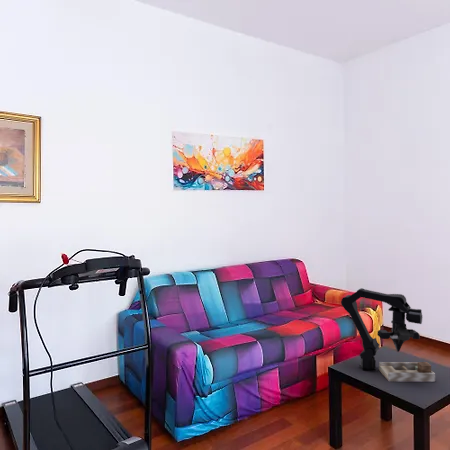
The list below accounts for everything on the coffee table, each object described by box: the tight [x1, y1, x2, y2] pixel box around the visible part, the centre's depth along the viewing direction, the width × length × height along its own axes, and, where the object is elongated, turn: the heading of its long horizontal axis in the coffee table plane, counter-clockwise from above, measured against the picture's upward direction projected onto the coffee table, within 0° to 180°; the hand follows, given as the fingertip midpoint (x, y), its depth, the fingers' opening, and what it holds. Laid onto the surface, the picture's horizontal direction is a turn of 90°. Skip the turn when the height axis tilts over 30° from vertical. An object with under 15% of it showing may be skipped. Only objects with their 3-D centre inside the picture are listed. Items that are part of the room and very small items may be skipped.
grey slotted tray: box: [378, 361, 436, 383], centre depth 198 cm, size 22×13×4 cm, turn 89°
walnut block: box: [417, 361, 432, 373], centre depth 195 cm, size 4×4×4 cm
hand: (397, 351), depth 198 cm, fingers closed
